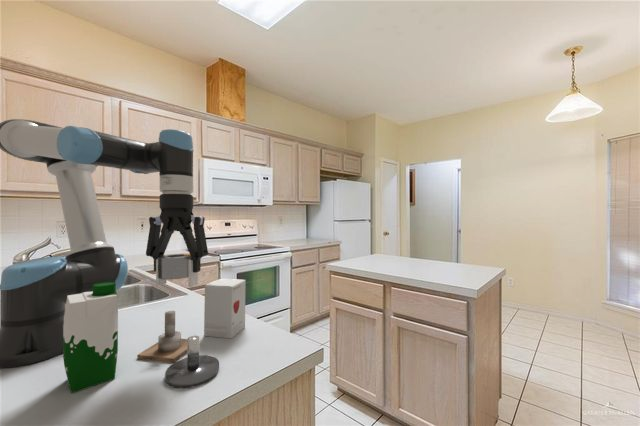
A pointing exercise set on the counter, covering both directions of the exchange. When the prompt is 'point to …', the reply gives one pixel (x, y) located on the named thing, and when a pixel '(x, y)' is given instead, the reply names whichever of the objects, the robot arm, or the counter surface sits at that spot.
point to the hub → (192, 367)
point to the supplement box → (224, 307)
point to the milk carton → (91, 336)
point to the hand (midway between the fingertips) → (177, 284)
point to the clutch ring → (173, 266)
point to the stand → (166, 344)
